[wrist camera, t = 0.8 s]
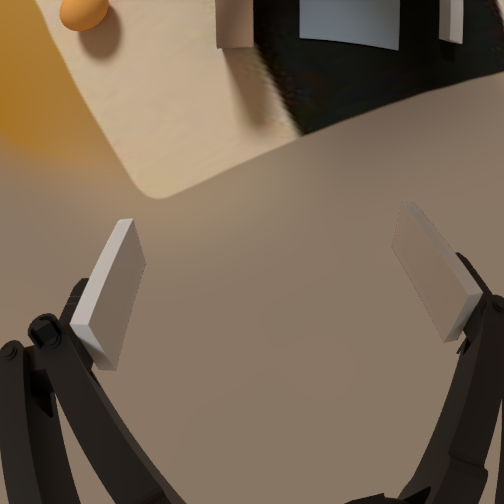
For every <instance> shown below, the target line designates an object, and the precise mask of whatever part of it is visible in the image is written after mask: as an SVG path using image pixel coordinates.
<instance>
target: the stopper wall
mask: <svg viewBox="0 0 504 504" xmlns="http://www.w3.org/2000/svg"><path fill="white" fill-rule="evenodd" d="M462 34H463V0H440V23H439V39H442V40H445V41H448V42H452V43H459V44H462Z"/></svg>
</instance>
